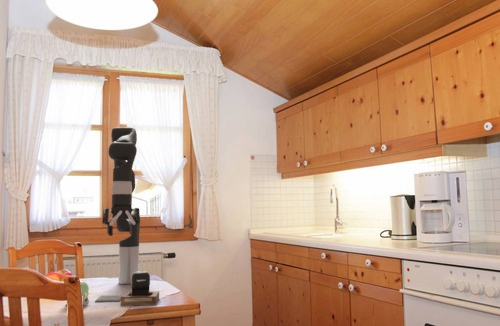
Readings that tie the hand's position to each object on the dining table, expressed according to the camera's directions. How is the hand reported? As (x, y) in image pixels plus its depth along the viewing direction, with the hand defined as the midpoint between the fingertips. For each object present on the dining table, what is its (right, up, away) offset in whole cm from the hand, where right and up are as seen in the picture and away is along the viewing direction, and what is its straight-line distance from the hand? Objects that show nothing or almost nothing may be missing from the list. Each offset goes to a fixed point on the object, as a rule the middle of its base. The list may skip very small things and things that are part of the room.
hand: (121, 235), depth 176 cm
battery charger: (+8, -26, -1) cm, 27 cm away
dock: (+8, -26, -1) cm, 27 cm away
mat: (-6, -26, +5) cm, 27 cm away
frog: (-15, -26, -4) cm, 30 cm away
